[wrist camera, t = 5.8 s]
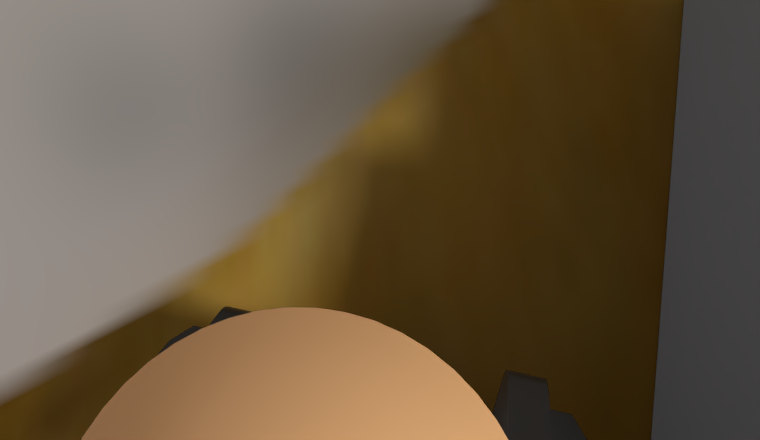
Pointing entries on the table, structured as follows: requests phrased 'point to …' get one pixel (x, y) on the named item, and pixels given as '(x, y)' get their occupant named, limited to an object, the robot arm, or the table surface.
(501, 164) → the table surface
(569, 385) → the table surface
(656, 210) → the table surface
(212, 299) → the table surface
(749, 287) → the grey box
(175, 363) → the capped container
